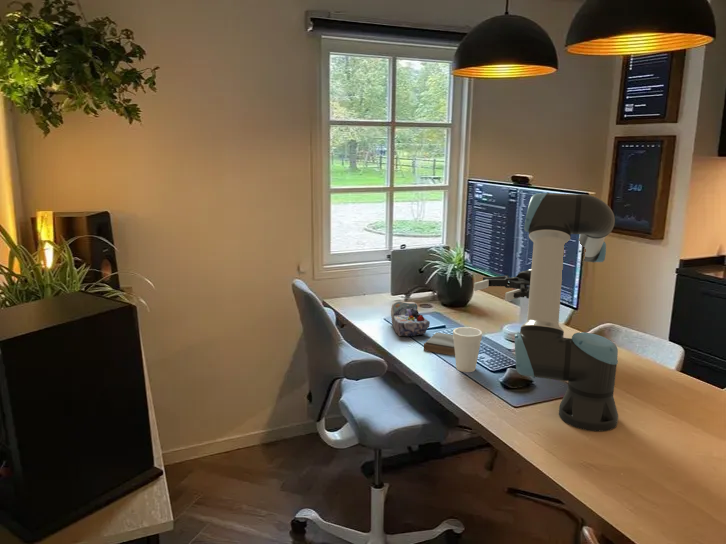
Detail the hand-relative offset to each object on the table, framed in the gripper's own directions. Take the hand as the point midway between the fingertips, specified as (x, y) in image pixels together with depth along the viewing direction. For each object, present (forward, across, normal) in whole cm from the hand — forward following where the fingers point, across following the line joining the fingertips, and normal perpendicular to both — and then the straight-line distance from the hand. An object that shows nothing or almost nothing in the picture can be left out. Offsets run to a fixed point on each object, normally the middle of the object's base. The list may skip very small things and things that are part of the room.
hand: (489, 291), depth 191 cm
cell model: (+1, +41, -27) cm, 49 cm away
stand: (+1, +18, -26) cm, 31 cm away
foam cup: (+10, 0, -25) cm, 27 cm away
